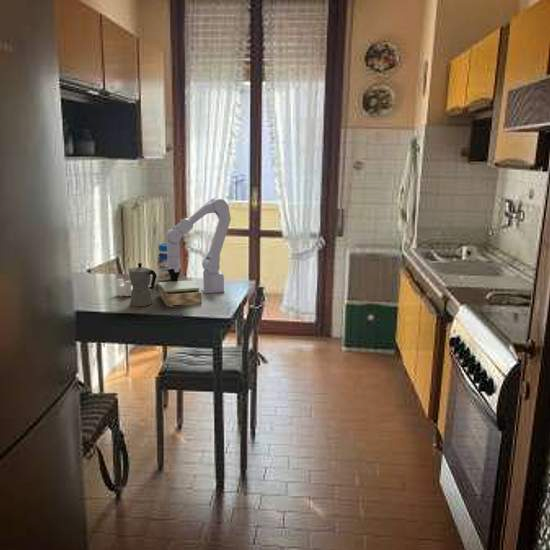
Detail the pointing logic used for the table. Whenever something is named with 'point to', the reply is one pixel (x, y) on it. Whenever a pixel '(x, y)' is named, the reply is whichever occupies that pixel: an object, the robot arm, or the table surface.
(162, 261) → the beverage bottle
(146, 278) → the coffeepot
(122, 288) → the bracket
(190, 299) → the box
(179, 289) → the lid
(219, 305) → the table surface
